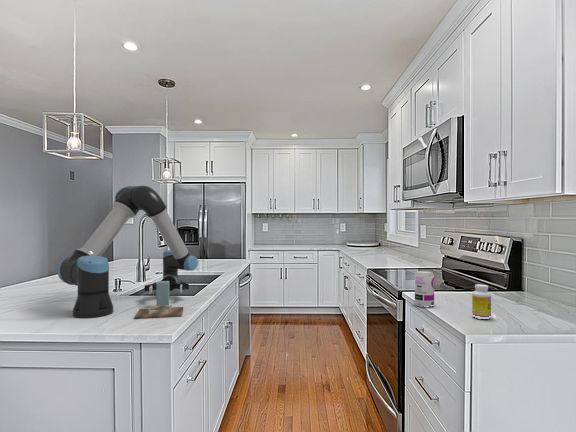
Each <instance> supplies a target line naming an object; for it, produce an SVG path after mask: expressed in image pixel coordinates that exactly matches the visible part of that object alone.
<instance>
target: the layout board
mask: <svg viewBox="0 0 576 432" xmlns="http://www.w3.org/2000/svg"><path fill="white" fill-rule="evenodd" d="M183 312H184V306H176V307H173V306H172V305H170V304H169V305H167V306H157V305H150V306H149V308H139V309H138V311H137V312H136V314H135V315H134V316H133V317H134V319H133V320H143V319H164V318H179V317H183Z"/></svg>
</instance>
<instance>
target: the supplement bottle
mask: <svg viewBox="0 0 576 432" xmlns="http://www.w3.org/2000/svg"><path fill="white" fill-rule="evenodd" d="M474 289H475V290H474V291H473V292H472V294H471V295H472V296H471V297H472V298H471V299H472V301H471V303H472V304H471V306H472V309H471V311H472V312H471V313H472V314H473V315H475V316H480V317H489V316H491V317H492V294H491V293H490V292H489V285H487V284H479V283H478V284H477V283H476V284H474ZM472 314H471V315H472Z"/></svg>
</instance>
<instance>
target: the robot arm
mask: <svg viewBox="0 0 576 432" xmlns="http://www.w3.org/2000/svg"><path fill="white" fill-rule="evenodd" d="M140 211H143V212H144V213H145V214H146V216H147V217H148V218H151V220H152V222H153V223H154V225H155V226H156V229H157V230H158V232H159V234H160V235H161V237H162V238H163V240H164V243H165V244H166V246H167V247H168V249H169V250H168V249H167V250H166V249H165V250H163V253H162V279H161V281H169V292H171V291H173V290H176V289H177V290H179V293H180V294H182V293H183V291H185V290H190V285H189V283H186V282H183V281H182V280H181V281H179V276H178V275H179V272H178V271H179V270H180V271H181V270H182V271H183V270H184V271H194V270H195V269H196V268H197V267H198V265H199V262H198V261H199V260H198V258H197V257H196V256H194V255H191V253H190V252H189V249H188V248H187V246H186V244H185V243H184V240H183V239H182V237H181V235H180V233H179V232H178V230H177V228H176V226H175V224H174V222H173V221H172V218H171V217H170V216H169V213H168V212H167V205H166V203H165V202H164V200H163V199H162V197H161V196H160V195H159V193H158V192H157V191H156V190H154V189H153V188H152V187H151V186H149V185H133V186H132V185H131V186H130V185H129V186H124V187H121V188H120V189H118V190H117V192H116V193H115V195H114V201H113V202H112V209H111V210H110V211H109V213H108V214H107V216H106V217H105V218H104V220H103V221H101V223H100V224H99V226H98V227H97V228H96V229H95V231H94V232H93V233H92V234H91V236H90V237H89V238H88V240H87V241H86V242H85V243H84V244H83V246H82V247H81V248H76V249H75V250H74V251H73V252H72V254H71V255H70V256H67V257H65V258H63V259H62V260H61V261H59V263H58V266H57V276H58V279H60V281H61V282H63V283H65V284H67V285H70V286H77V297H76V300H75V303H74V305H73V309H72V317H74V318H79V319H81V318H82V319H84V318H85V319H89V318H99V317H104V316H108V315H110V314H112V313H114V305H113V302H112V299H111V296H110V293H109V288H110V286H109V285H110V281H109V280H110V278H109V277H110V275H109V274H110V273H109V271H110V264H109V260H108V258H106V257H104V256H102V255H103V254H104V253H105V251H106V250H107V249H108V247H109V246H110V244H111V243H112V242H113V241H114V239H115V238H116V237H117V235H118V234H119V233H120V232H121V230H122V229H123V227H124V226H125V225H126V223H127V222H128V221H129V219H134V218H135V217H136V216H137V214H138V213H139V212H140ZM153 291H157V281H155V282H153V283H149V284H145V285H144V292H147V293H148V294H149V295H152V293H153Z"/></svg>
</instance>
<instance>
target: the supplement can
mask: <svg viewBox="0 0 576 432" xmlns="http://www.w3.org/2000/svg"><path fill="white" fill-rule="evenodd" d="M414 304H415V305H416V307H419V308H424V307H423V306H430V305H434V306H435V274H434V272H433V271H429V270H418V271H415V274H414Z"/></svg>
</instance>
